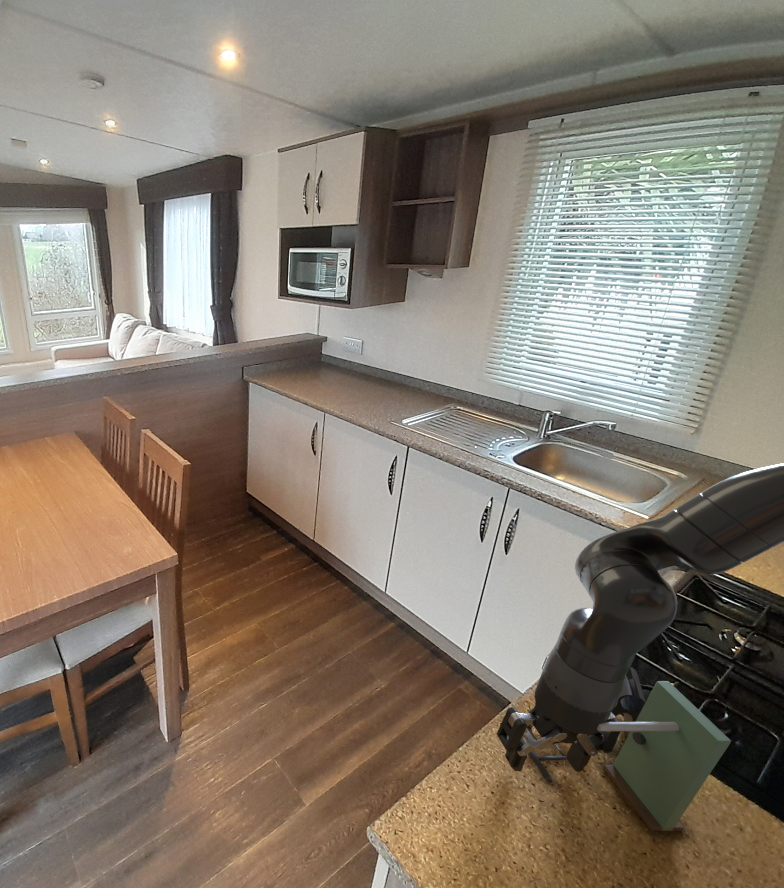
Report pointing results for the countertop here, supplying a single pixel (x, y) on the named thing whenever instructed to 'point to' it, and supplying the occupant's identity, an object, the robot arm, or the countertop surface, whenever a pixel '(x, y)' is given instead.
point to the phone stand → (630, 700)
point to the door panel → (665, 757)
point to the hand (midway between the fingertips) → (543, 764)
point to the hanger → (538, 758)
